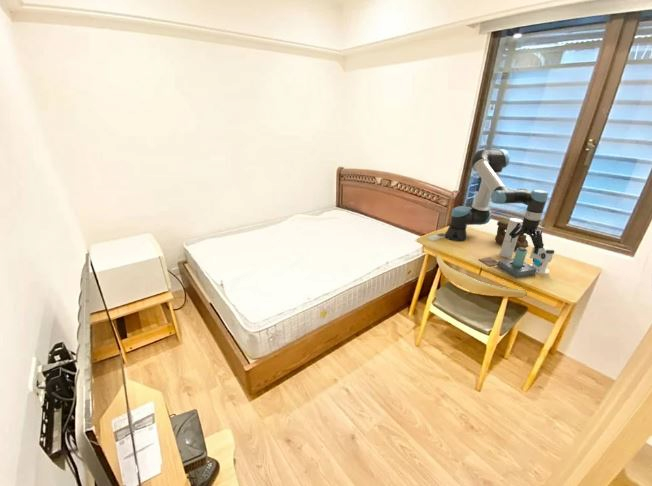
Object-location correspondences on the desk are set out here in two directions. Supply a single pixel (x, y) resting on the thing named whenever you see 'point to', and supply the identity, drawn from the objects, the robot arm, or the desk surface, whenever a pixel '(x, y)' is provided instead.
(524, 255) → the teal cylinder
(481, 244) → the desk surface
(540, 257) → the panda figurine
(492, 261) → the pad
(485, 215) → the robot arm
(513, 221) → the cylindrical container
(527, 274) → the housing
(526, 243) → the brown lumpy upright piece
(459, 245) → the desk surface
